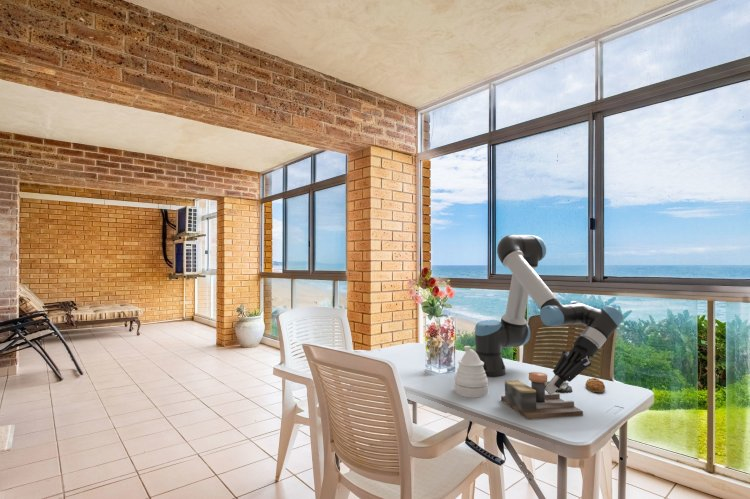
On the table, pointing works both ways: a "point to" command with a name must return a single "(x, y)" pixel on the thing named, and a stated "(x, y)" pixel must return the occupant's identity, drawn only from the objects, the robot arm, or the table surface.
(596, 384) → the pastry
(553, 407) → the brown sliding knob board
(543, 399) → the knob
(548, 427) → the table surface
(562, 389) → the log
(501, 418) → the table surface
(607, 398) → the table surface
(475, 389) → the honey pot
